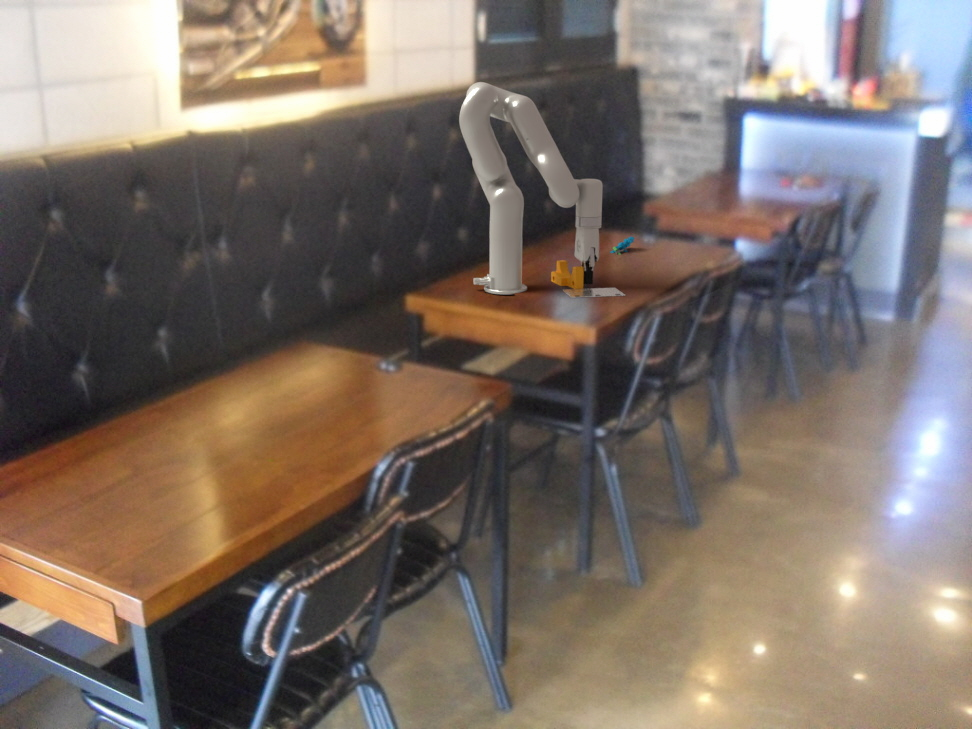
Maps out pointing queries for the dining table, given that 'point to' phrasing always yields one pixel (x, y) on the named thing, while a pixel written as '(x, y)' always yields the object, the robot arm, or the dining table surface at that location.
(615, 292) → the door panel
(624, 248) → the gear
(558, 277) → the pipe clamp
